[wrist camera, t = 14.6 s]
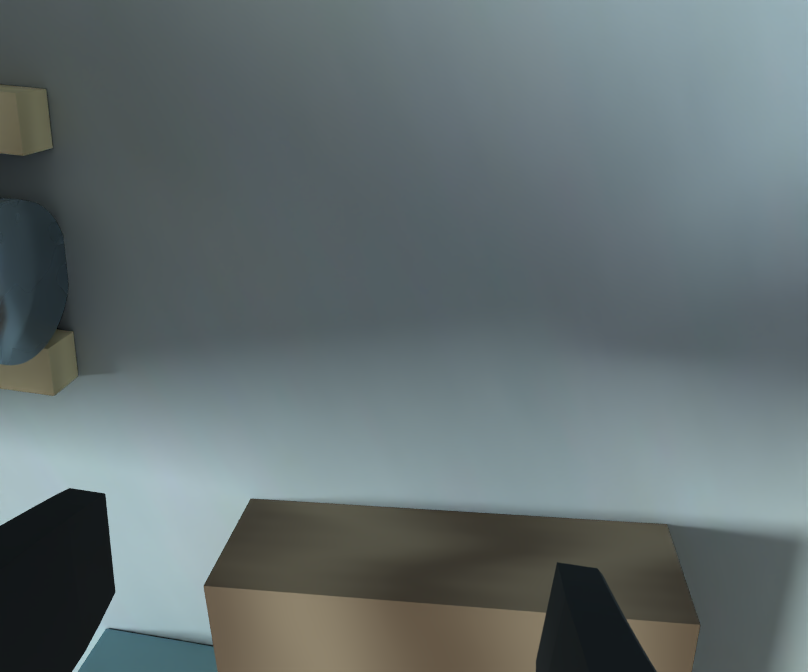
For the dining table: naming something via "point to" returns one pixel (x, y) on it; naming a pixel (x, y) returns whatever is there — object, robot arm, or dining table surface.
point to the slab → (427, 588)
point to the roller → (29, 279)
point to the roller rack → (21, 135)
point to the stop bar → (147, 654)
